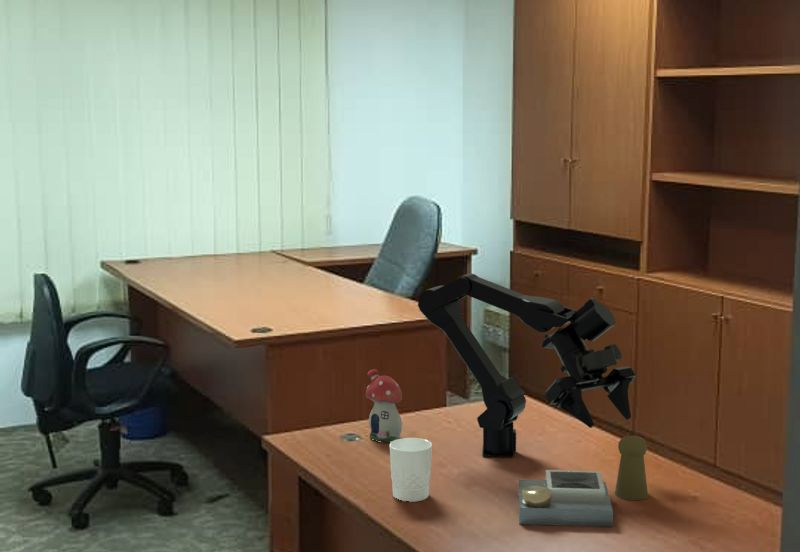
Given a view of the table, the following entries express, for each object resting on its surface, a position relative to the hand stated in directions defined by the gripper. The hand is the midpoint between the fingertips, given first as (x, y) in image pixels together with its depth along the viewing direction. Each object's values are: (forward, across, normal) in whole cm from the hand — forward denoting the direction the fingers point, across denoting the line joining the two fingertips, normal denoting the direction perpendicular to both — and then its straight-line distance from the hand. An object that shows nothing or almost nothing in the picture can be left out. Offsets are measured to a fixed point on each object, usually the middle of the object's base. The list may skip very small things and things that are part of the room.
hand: (611, 422), depth 201 cm
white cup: (-2, -36, +19) cm, 41 cm away
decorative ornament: (-25, -23, +42) cm, 54 cm away
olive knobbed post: (+13, 0, +4) cm, 14 cm away
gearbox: (+13, -16, +5) cm, 21 cm away
